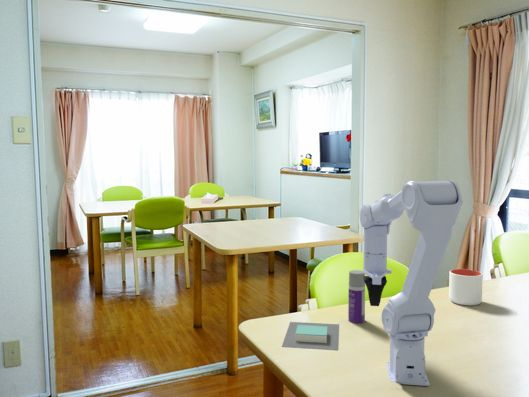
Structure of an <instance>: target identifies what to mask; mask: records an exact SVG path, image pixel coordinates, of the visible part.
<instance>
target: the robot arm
mask: <svg viewBox="0 0 529 397" xmlns="http://www.w3.org/2000/svg"><path fill="white" fill-rule="evenodd" d="M463 202H464V200H463V197H462V193H461V190H460V187H459V185H458V184H457V183H456V181H454V180H452V179H447V180H429V181H428V180H427V181H415V180H409V181H407V182H406V183H404V184H402V186H401V190H400V191H399V192H398V193H397V194H395V195H393V194H391V193H385V194H383V195H382V198H381V199H378V200H375V201H374V203H373V204H362V206H361V208H360V210H359V222H360V226H362V228H363V264H362V265H363V266H362V267H363V268H362V271H363V273H364V274H365V276H364V277H363V279H364V282H365V287H366V289H367V292H368V295H367V296H368V300H369V305H370V307H379V306H380V304H381V301H382V300H381V298H382V295H383V291H384V288H385V286H386V285H387V282H388V281H387V276H386V275H387V274H390V275H391V274H392V271H393V270H392V269H390V268H388V265H387V264H388V263H387V262H388V235H389V234H390V228H391V225H392V222H393V221H395V220H397V219H398V218H401V217H402V215H403V213H404V211H405V212H406V214H407V217H408V219H409V222H410V225H411V227H412V228H413V229H415V230H416V231H418V232H420V233H419V236H418V241H417V244H416V245H415V249H414V252H413V255H412V258H411V262H410V265H409V267H408V270H407V274H406V276H405V277H406V278H405V280H404V283H403V286H402V288H401V291H400V292H398V293H397V294H395V295H393V296H392V297H390V298H389V299H388V301H387V304H386V305H385V306H384V307H383V309H382V312H381V324H382V326H383V329H384V330H385V332H386V333H387V334H388V335H389V361H387V362H386V368H387V372H388V376H389V381H390V382H392V383H400V385H411V386H424V387H429V386H430V384H431V383H430V381H429V378H428V375H427V373H426V355H425V338H426V337H428V334H429V332H430V331H432V329H433V326H434V324H435V313H436V307H435V305H434V303H433V301H432V300H431V299H430V298H429V297H430V294H431V292H432V288H433V286H434V283H435V280H436V278H437V275H438V272H439V270H440V268H441V265H442V262H443V259H444V257H445V253H446V251H447V248H448V246H449V244H450V240H451V237H452V234H453V233H452V232H453V228H454V226H455V224H456V221H457V219H458V216H459V213H460V212H461V209H462V206H463Z"/></svg>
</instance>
